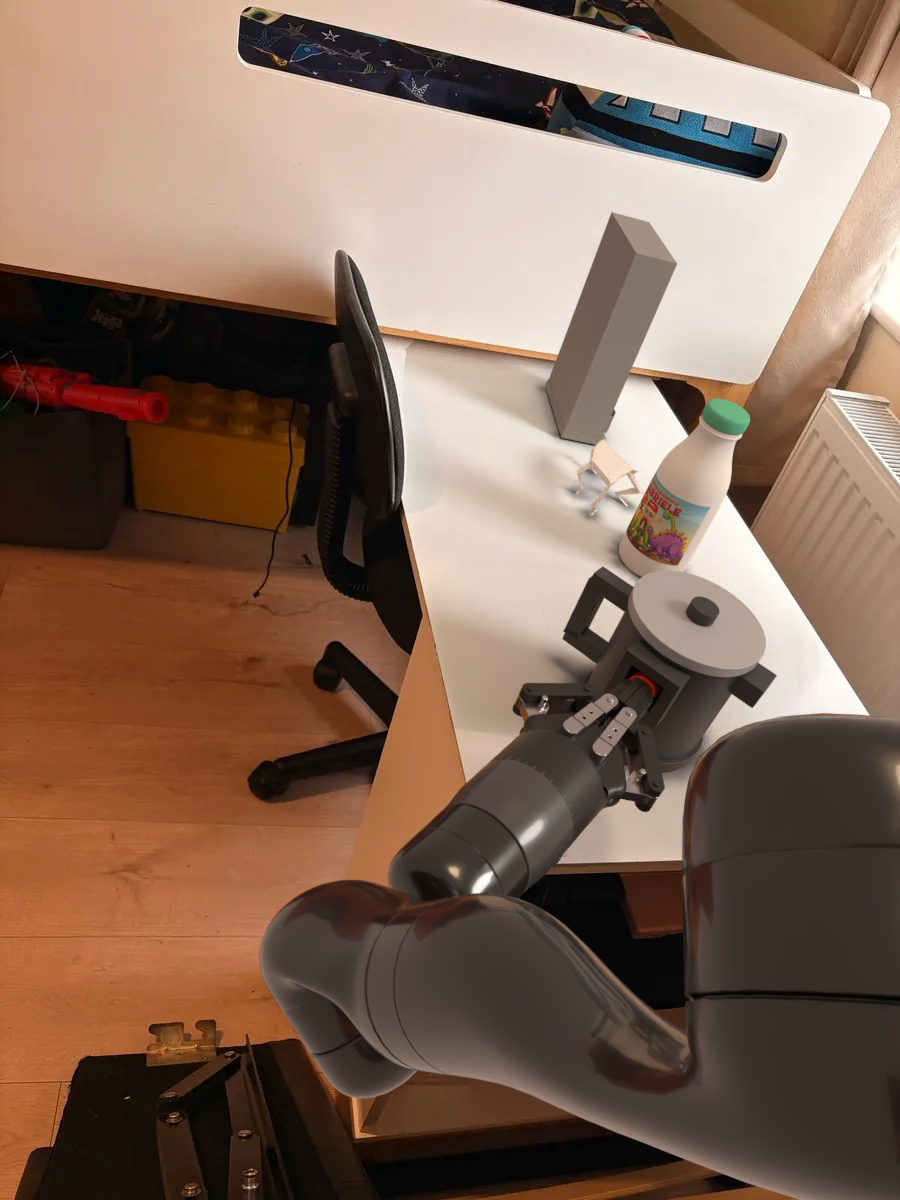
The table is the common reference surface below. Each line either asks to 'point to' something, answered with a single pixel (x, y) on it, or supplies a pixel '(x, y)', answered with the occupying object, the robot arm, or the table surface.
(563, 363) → the tall grey pillar
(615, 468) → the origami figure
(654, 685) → the kettle button
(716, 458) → the milk bottle
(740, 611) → the kettle jug
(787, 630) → the table surface
